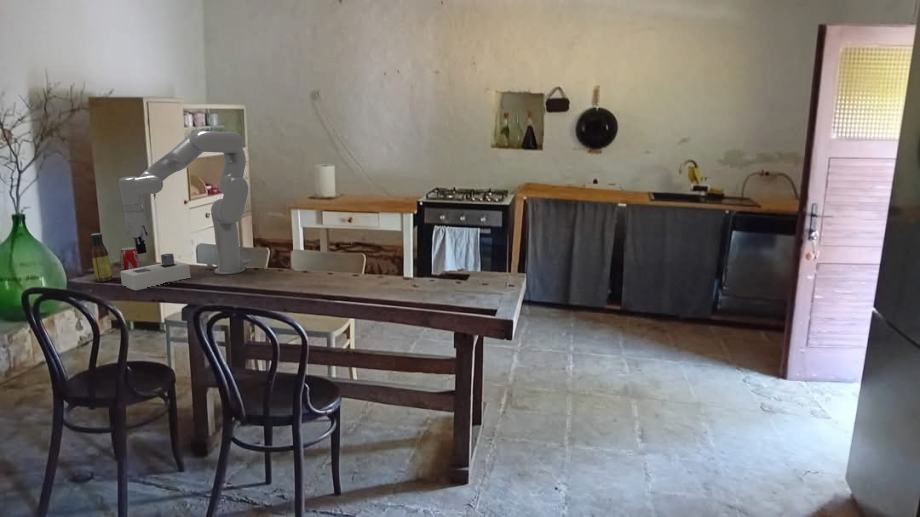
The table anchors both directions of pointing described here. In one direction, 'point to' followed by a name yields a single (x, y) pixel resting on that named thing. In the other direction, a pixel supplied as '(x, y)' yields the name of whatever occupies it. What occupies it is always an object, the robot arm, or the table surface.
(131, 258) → the soda can
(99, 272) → the sauce bottle
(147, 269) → the outer pin
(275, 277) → the table surface
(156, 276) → the pin block
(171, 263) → the inner pin
